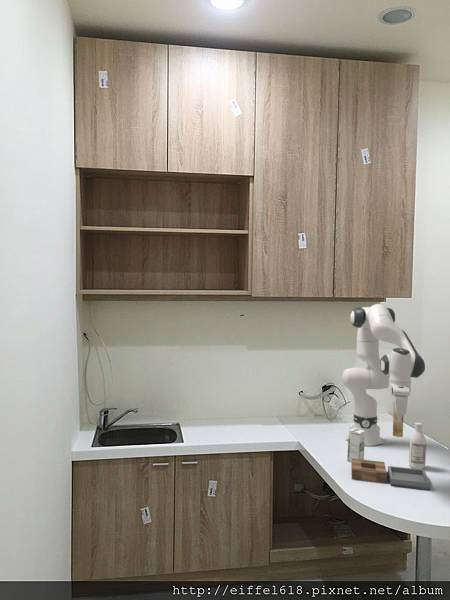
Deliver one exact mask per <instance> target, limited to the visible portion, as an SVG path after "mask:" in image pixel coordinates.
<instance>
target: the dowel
mask: <svg viewBox="0 0 450 600" xmlns="http://www.w3.org/2000/svg"><path fill="white" fill-rule="evenodd" d="M392 419H393V420H392V422H393V423H392V436H393V437H396V438H402V437H404V415H403V414H402V421H401V422H397V413H396V411H395V402H394V405H393V417H392Z"/></svg>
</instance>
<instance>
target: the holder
mask: <svg viewBox="0 0 450 600" xmlns="http://www.w3.org/2000/svg"><path fill="white" fill-rule="evenodd" d="M350 467H351V480H358V481H366V482H375V483H380V484H381V483H382V484H384V483H385V484H387V480H388V479H387V475H388V471H387V468H386V464H385V461H378V460H377V461H376V460H369V459H368V460H367V459H364V460H361V459H352V462H351V466H350Z"/></svg>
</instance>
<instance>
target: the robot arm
mask: <svg viewBox="0 0 450 600" xmlns="http://www.w3.org/2000/svg"><path fill="white" fill-rule="evenodd" d="M349 317H350V318H349V319H350V322H351V323H350V324H351V325H352V326H353V327H354V328H357V333H356V356H357V357H358V358H359V360H361V361H363V362H365V363H366V364H367V367H349V368H346V369H344V371H343V372H342V374H341V381H342V384H343V385H344V386H345V387H346V388H347V389H348V390H349V391H350V392H351V394H352V396H353V400H354V413H353V416H352V417H353V422H352V423H351V424H350V425H349V431H350V430H352V429H354V428H356V429H361V430H364V431H365V445H364V447H368V446H369V447H373V446H374V447H375V446H379V445H383V444H384V440H382V438H381V428H380V426H379V425H378V419H379V418H378V415H377V413H378V412H377V409H378V403H377V400H376V398H374V397H373V396H371V395H370V394H368V393H367V390H384V389H388V392H390V393H391V396H392V404H393V406H394V402H395V411H396V413H397V422H401V421H402V414H403V415H406V413H407V410H408V409H407V408H408V400H409V397H410V396H411V391H412V379H411V378H415V379H417V378H419V377H421V376H422V375H424V373H425V371H426V364H425V360H424V359H423V358H422V356H421V355H420V354H419V353H418V351H417V350H416V348H415V346H414V345H413V343H412V340H411V339H410V338H409V336H408V334H407V333H406V331H404V330H403V329H401V328H400V326H398V325H397V324H396V323H395V321H396V314H395V311H394V310H393V308H391V307H387V306H386V305H384V304H381V303H374V304H373V305H371V306H364V307H363V306H362V307H361V306H359V307H358V306H357V307H354V308H353V309H352V310H351V313H350V316H349ZM379 341H381V342H384V343H389V344H392V345H396V346H397V347H396V348H393V349H391V351H390V353H388V354H384V355H383V356H382V357H380V352H379V351H380V350H379V348H380V347H379V346H380V345H379V343H380V342H379ZM348 438H349V434H348V435H347V436H346V437H345V441H348Z"/></svg>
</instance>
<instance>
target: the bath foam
mask: <svg viewBox="0 0 450 600" xmlns="http://www.w3.org/2000/svg"><path fill="white" fill-rule="evenodd" d="M408 451H409V452H408V453H409V454H408V466H409V468H413V469H422V470H425V468H426V455H427V453H426V452H427V439H426V437H425V434H424V433H423V423H421V422H415V423H414V431H413V432H412V434H411V435H410V438H409V450H408Z"/></svg>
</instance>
